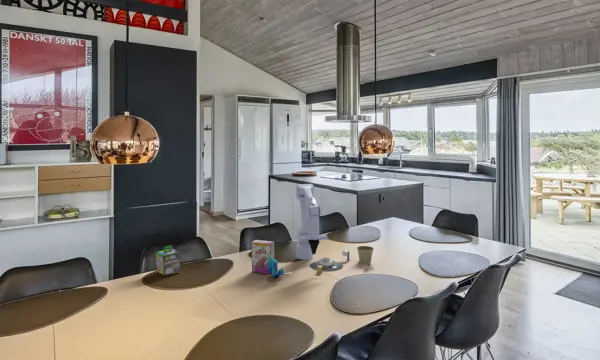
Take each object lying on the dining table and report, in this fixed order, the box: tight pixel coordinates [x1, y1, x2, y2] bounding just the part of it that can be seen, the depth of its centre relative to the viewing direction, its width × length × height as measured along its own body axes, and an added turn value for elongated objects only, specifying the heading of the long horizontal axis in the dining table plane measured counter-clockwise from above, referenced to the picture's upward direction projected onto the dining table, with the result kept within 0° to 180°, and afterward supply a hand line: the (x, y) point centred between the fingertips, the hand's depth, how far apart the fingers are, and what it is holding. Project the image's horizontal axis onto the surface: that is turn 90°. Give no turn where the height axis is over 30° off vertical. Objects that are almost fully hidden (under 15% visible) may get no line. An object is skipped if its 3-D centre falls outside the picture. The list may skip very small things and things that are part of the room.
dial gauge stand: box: [341, 249, 350, 261], centre depth 209 cm, size 5×4×7 cm
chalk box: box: [155, 244, 181, 275], centre depth 193 cm, size 9×9×15 cm
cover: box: [318, 256, 335, 268], centre depth 199 cm, size 8×8×4 cm
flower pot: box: [356, 245, 375, 265], centre depth 206 cm, size 9×9×9 cm
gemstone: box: [266, 257, 284, 282], centre depth 183 cm, size 7×9×12 cm
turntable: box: [309, 260, 344, 274], centre depth 198 cm, size 18×21×4 cm
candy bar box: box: [251, 239, 275, 275], centre depth 193 cm, size 11×5×16 cm, turn 71°
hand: (313, 253), depth 193 cm, fingers closed
